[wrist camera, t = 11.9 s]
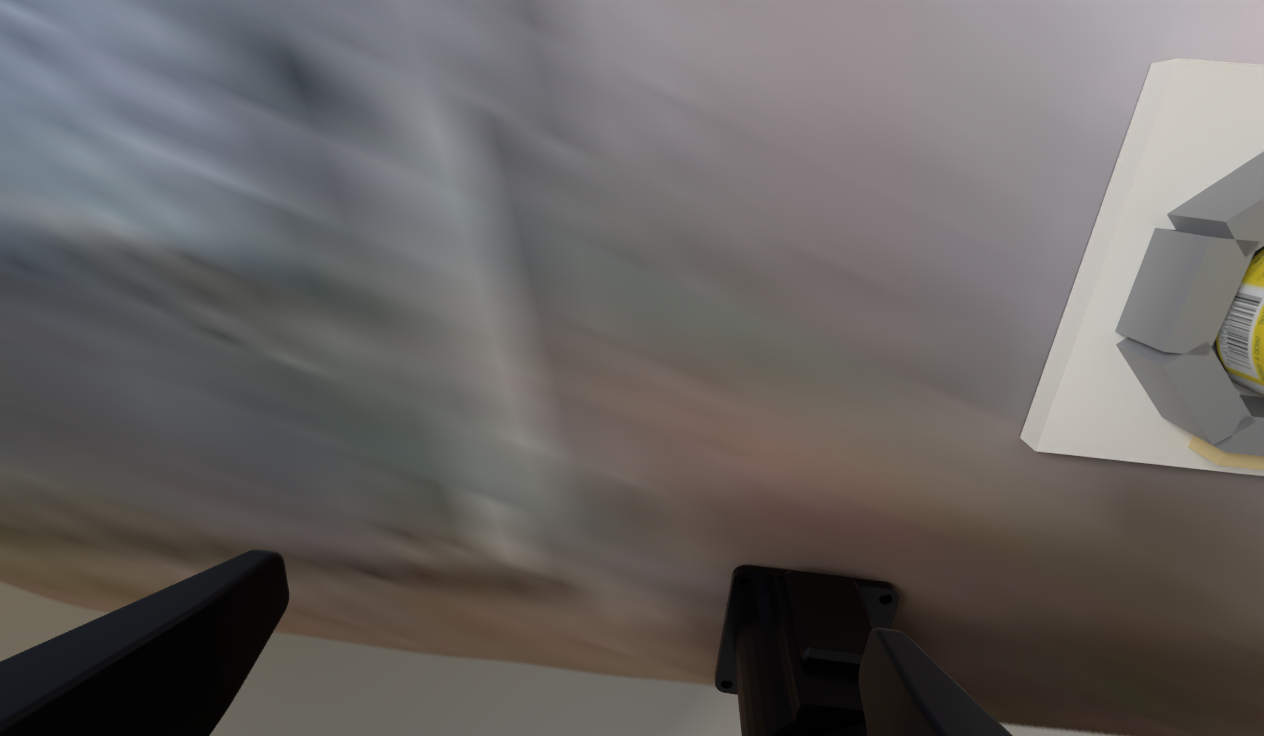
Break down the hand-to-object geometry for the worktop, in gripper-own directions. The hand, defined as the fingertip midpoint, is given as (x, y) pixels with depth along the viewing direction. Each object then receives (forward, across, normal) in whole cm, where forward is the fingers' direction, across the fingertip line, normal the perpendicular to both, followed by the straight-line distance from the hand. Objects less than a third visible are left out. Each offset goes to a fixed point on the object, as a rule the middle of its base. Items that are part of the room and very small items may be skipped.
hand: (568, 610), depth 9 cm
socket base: (+13, -20, -4) cm, 24 cm away
